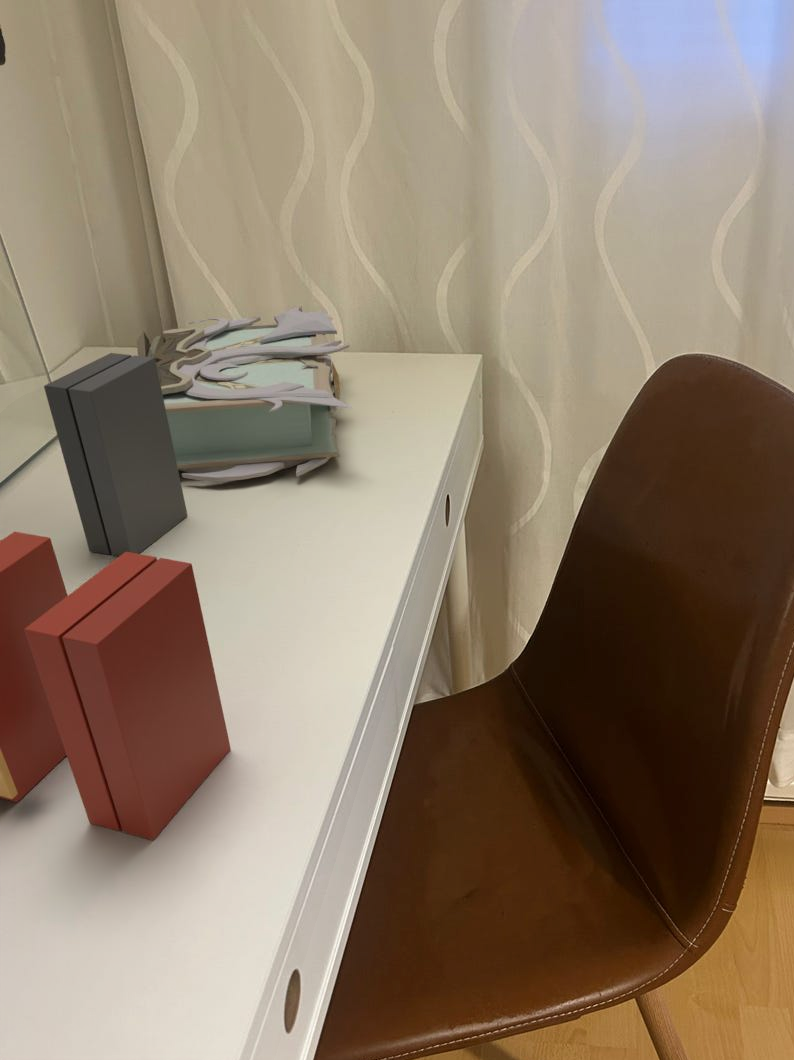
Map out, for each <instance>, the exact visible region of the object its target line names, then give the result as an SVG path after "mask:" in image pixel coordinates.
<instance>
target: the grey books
mask: <svg viewBox="0 0 794 1060" xmlns="http://www.w3.org/2000/svg"><path fill="white" fill-rule="evenodd" d="M43 389H44V392H45V396H46V400H47V403H48V406H49V410H50V413H51V418H52V421H53V423H54V428H55V432H56V435H57V440H58V442H59V447H60V450H61V454H62V457H63V460H64V461H63V462H64V464H65V468H66V471H67V475H68V478H69V483H70V486H71V489H72V490H71V491H72V493H73V497H74V500H75V504H76V507H77V511H78V515H79V518H80V521H81V526H82V529H83V532H84V537H85V540H86V543H87V547H88V551H89V552H91V553H98V554H103V555H108V556H110V555H111V556H113V557H119V556H121V555H122V554H123V553H125V552H131V553H136V554H141V553H142V552H143V551H145V550H146V549H147V548H148V547H149V546H151V545H152V544H153V543H155V542H156V541H157V540H158V539H160V538H161V537H163V536H164V535H165V534H167V533H168V532H169V531H171V529H173V528H174V527H175V526H176V525H178V524H179V523H181V522H182V521H183V520H184V519H186V518H187V517H188V511H187V506H186V501H185V497H184V491H183V487H182V481H181V477H180V471H179V470H178V467H177V462H176V457H175V453H174V448H173V443H172V438H171V433H170V428H169V424H168V419H167V414H166V409H165V404H164V399H163V395H162V390H161V385H160V380H159V375H158V370H157V366H156V361H155V358H153V357H144V356H138V355H131V354H124V353H114V352H110V353H108V354H105V355H104V356H101V357H99V358H98V359H96V360H94V361H91V362H90V363H88V364H85V365H84V366H82V367H79V368H78V369H77V368H76V369H75V370H73V371H71V372H69V373H67V374H65V375H63V376H61V377H59V378H57V379H54V380H52V381H51V382H49V383H47V384H45V385H44V386H43Z"/></svg>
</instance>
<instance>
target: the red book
mask: <svg viewBox="0 0 794 1060" xmlns="http://www.w3.org/2000/svg"><path fill="white" fill-rule="evenodd" d="M53 545H54V544H53V542H52V539H51V537H48V536H44V535H43V536H42V535H37V534H30V533H25V532H19V531H13V532H12V533H10V534H9V535H7V536H6V537H4V538H2V539H1V540H0V799H3V800H7V801H9V802H13V803H18V802H20V801H21V800H22V799H23V798H24V797H25V796H26V795H27V794H28V793H29V792H30V791H31V790H32V789H33V788H34V787H35V786H36V785H37V784H39V783H40V781H41V780H43V779H44V778H45V777H46V776H47V775H48V774H49V773H50V772H51V771H52V770H53V769H55V767H56V766H57V765H58V764H59V763H61V761H62V760H63V759H65V758H66V757H67V755H66V752H65V749H64V746H63V743H62V740H61V737H60V734H59V731H58V728H57V725H56V722H55V719H54V716H53V713H52V710H51V707H50V704H49V701H48V698H47V696H46V693H45V690H44V687H43V684H42V681H41V678H40V675H39V672H38V669H37V666H36V663H35V660H34V657H33V654H32V651H31V648H30V645H29V642H28V639H27V636H26V634H25V631H24V629H25V628H26V627H28V626H29V625H30V624H31V623H33V622H34V621H35V620H37V619H38V618H39V617H41V616H42V615H43V614H45V613H46V612H47V611H49V610H50V609H51V608H52V607H54V606H55V605H56V604H58V603H59V602H60V601H62V600H63V599H64V598H66V597H67V596H68V595H69V594H68V592H67V589H66V585H65V581H64V579H63V576H62V572H61V568H60V564H59V562H58V559H57V555H56V552H55V549H54V546H53Z"/></svg>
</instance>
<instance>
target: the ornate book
mask: <svg viewBox="0 0 794 1060" xmlns="http://www.w3.org/2000/svg"><path fill="white" fill-rule="evenodd" d="M335 315H336V314H334V313H327V312H326V311H325V310H322V311H321V310H320V311H311V312H310V311H309V312H306V311H303V307H302V305H298V306H296V307H293V308H290V309H288V310H286V311H284V312H281V313H278V314H276V315H274V316H273V320H274V322H269V323H268V322H267V323H258V322H260V321H262V319H261V316H260V317H259V316H250V317H245V318H244V317H243V318H238V319H233V320H229V318H225V317H210V318H205V319H201V320H195V321H192V322H188V325H192V324H197V323H202V322H207V321H218V322H216V324H212V325H209V326H192V327H188V328H187V327H184V328H172V329H168V330H163V331H161V334H160V335H156V336H155V337H154V338H153V340H152V342H151V343H150V339H149V337H148V335H147V334H146V332H145V331H144V330H143V331H142V333H141V334H140V335H139V336H138V338H137V340H136V348H137V356H144V357H153V358H155V361H156V366H157V370H158V375H159V380H160V385H161V390H162V395H163V399H164V404H165V409H166V414H167V419H168V424H169V428H170V433H171V438H172V443H173V448H174V453H175V457H176V462H177V467H178V471H179V472H180V471H181V472H182V473H181V478H184V479H190V480H195V481H205V482H206V481H207V482H230V481H231V482H232V481H243V480H249V479H253V478H259V477H260V478H261V477H265V476H269V475H271V474H274V473H277V472H278V471H280V470H285V469H290V468H292V467H294V466H296V471H295V476H296V478H298V477H300V476H302V475H304V474H306V473H308V472H310V471H312V470H315V469H316V468H318V467H320V466H322V465H324V464H326V463H327V462H328V461H329V460H330V459H331V458H337V457H340V449H339V446H338V442H337V438H336V426H337V419H336V418H333V417H332V413H334V412H335V411H337V408H344V409H345V408H346V409H353V407H352V406H350V405H348V404H347V403H345V402H344V401H342V400H340V391H341V387H340V386H341V385H340V377H339V372H338V371H337V369H336V367H335V364H334V362H333V361H332V356H331V355H330V354H335V353H338V352H341V351H344V350H347V349H349V348H350V344H344V345H340V344H342V343H343V341H342V340H341V339H339V340H332V341H329V342H328V340H327V337H326V335H338V330H337V329H336V328H335V325H334V324H333V322H332V321H333V319H334V317H335Z"/></svg>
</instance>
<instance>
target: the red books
mask: <svg viewBox="0 0 794 1060" xmlns="http://www.w3.org/2000/svg"><path fill="white" fill-rule="evenodd" d="M67 595H68V596H67V597H66V598H64V599H63V600H62V601H60V602H59V603H58V604H56V605H55V606H54V607H52V608H51V609H50V610H49V611H47V612H46V613H45V614H43V615H42V616H41V617H39V618H38V619H37V620H35V621H34V622H33V623H31V624H30V625H29V626H28V627H26V628H25V629H24V631H25V634H26V636H27V639H28V642H29V645H30V648H31V651H32V654H33V657H34V660H35V663H36V666H37V669H38V672H39V675H40V678H41V681H42V684H43V687H44V690H45V693H46V696H47V698H48V701H49V704H50V707H51V710H52V713H53V716H54V719H55V722H56V725H57V728H58V731H59V734H60V737H61V740H62V743H63V746H64V749H65V752H66V758H67V761H68V762H69V766H70V769H71V773H72V775H73V777H74V778H73V779H74V782H75V784H76V787H77V789H78V790H77V791H78V793H79V795H80V799H81V801H82V805H83V808H84V810H85V813H86V817H87V820H88V823H89V824H91V825H96V826H99V827H102V828H106V829H111V830H112V831H113V830H114V831H116V832H117V831H118V832H121V831H122V833H124V834H129V835H131V836H136V837H140V838H142V839H147V840H151V841H154V840H155V839H156V838H157V837H158V835H159V834H160V833H161V832H162V831H163V830H164V829H165V827H166V826H167V825H168V824H169V822H171V820H172V819H173V818H174V816H176V815H177V813H178V812H180V810H181V809H182V807H183V806H184V805H185V803H186V802H188V800H189V799H190V798H191V796H192V795H193V794H194V793H195V792H196V791H197V790H198V788H200V786H202V784H203V782H204V781H205V780H206V779H207V778H208V777H209V775H210V774H211V773H212V772H213V771H214V770H215V768H216V767H217V766H218V765H219V763H220V762H221V761H222V760H223V759H224V758H225V756H226V755H227V754H228V753H229V752H230V750H231V748H232V747H231V743H230V738H229V733H228V729H227V724H226V720H225V719H226V718H225V715H224V710H223V706H222V701H221V700H222V699H221V696H220V690H219V687H218V681H217V677H216V676H217V675H216V672H215V668H214V662H213V658H212V653H211V648H210V643H209V640H208V634H207V630H206V625H205V620H204V614H203V610H202V605H201V602H200V597H199V592H198V587H197V582H196V577H195V572H194V568H193V564H192V562H186V561H181V560H176V559H169V558H163V557H160V558H158V557H156V556H153V555H147V554H141V553H139V554H136V553H131V552H125V553H123V554H122V555H121V556H117V558H116V559H114V560H113V561H112V562H110V563H109V564H108V565H106V566H105V567H103V569H101V570H99V571H98V572H96V574H95V575H93V576H92V577H90V578H89V579H87V580H86V582H84V583H83V584H81V585H80V586H79V587H77V588H76V589H74V590H73V591H72V592H70V593H69V594H67Z"/></svg>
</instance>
